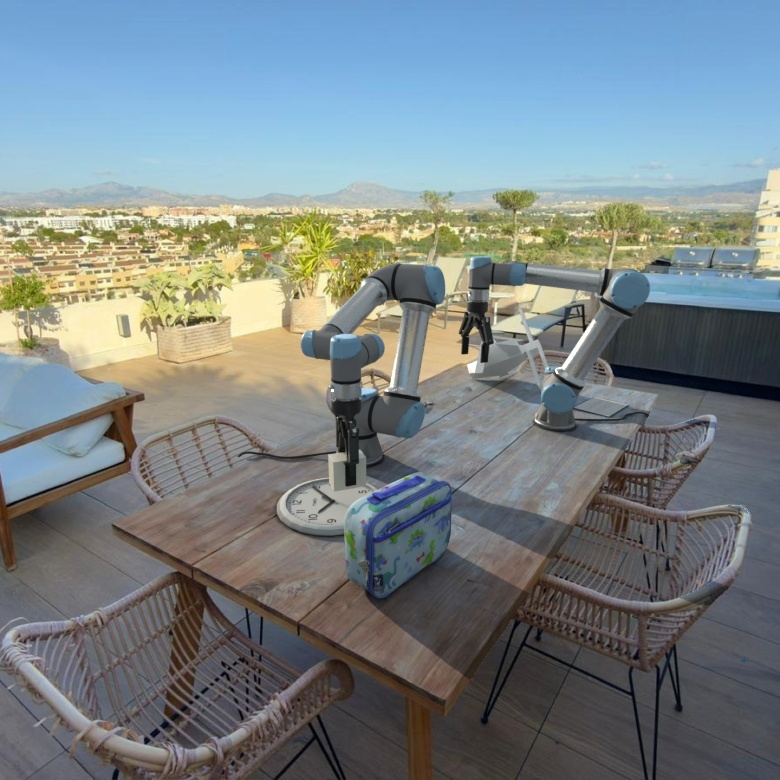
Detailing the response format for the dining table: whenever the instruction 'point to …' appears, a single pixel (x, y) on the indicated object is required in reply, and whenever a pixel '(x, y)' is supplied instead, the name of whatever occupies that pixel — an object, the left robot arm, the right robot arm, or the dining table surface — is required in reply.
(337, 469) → the block
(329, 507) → the wall clock
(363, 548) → the lunch box
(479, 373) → the white plastic object
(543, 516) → the dining table surface
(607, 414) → the invitation card
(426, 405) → the fork
